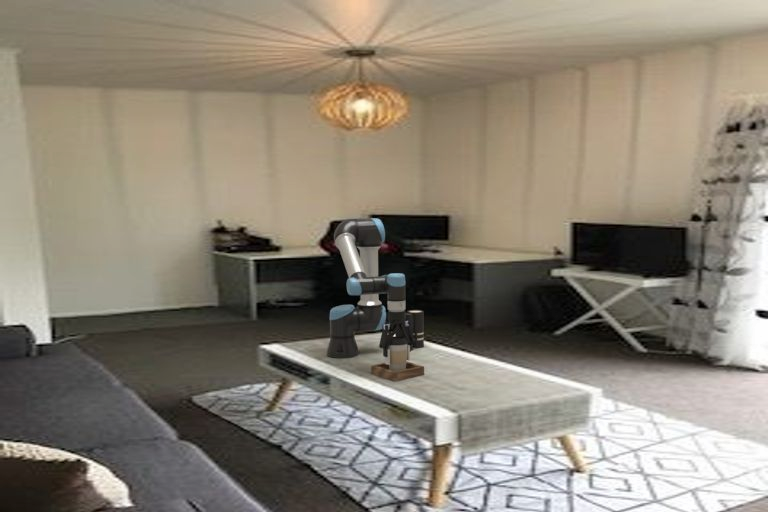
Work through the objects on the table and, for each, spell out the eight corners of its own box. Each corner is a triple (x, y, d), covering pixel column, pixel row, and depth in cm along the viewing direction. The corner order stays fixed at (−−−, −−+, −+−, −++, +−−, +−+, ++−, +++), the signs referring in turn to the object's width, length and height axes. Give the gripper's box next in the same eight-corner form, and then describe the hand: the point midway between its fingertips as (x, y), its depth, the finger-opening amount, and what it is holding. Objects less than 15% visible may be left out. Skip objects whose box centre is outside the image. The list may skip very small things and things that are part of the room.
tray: (371, 373, 296) (371, 365, 296) (400, 367, 306) (400, 359, 306) (394, 381, 284) (394, 373, 283) (424, 374, 293) (424, 366, 293)
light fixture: (428, 346, 346) (428, 311, 345) (409, 351, 337) (409, 314, 335) (414, 343, 353) (413, 309, 352) (395, 348, 344) (394, 312, 342)
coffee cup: (408, 369, 299) (408, 334, 297) (407, 374, 290) (407, 339, 288) (388, 368, 300) (387, 334, 298) (386, 374, 291) (385, 339, 289)
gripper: (380, 314, 282) (381, 368, 284) (422, 308, 296) (423, 359, 298) (369, 312, 288) (370, 364, 290) (411, 306, 302) (412, 356, 304)
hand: (397, 362), depth 294 cm, fingers open, 10 cm apart
